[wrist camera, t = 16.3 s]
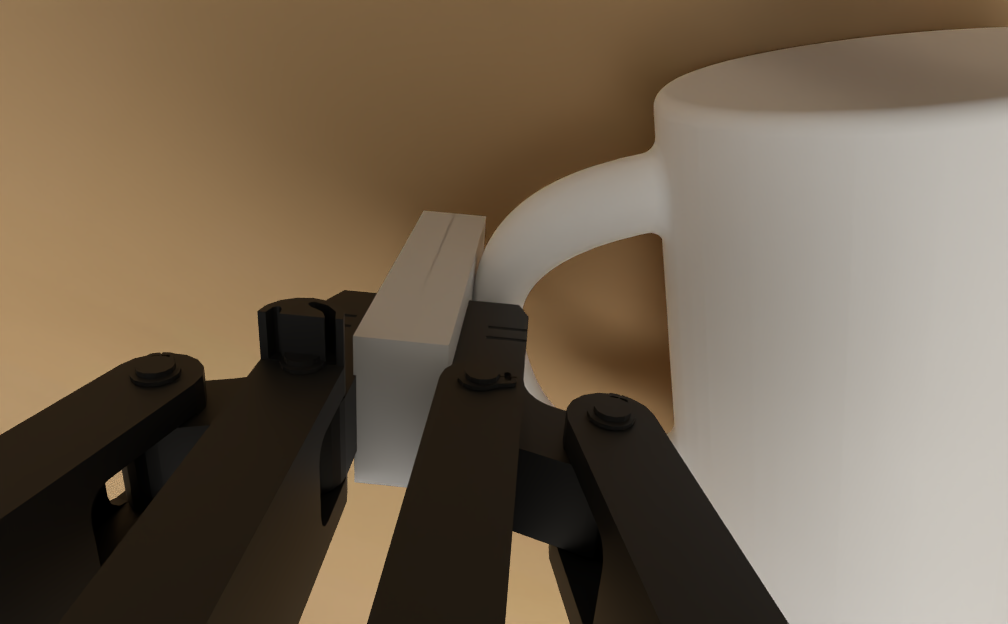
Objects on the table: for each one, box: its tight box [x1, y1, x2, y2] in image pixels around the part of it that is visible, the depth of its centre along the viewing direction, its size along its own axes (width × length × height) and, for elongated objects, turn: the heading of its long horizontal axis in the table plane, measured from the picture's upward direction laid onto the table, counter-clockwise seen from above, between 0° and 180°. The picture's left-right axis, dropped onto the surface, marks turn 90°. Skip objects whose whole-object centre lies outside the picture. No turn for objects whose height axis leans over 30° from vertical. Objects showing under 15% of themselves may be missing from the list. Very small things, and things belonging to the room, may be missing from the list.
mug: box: [473, 27, 1008, 624], centre depth 15 cm, size 12×10×8 cm
